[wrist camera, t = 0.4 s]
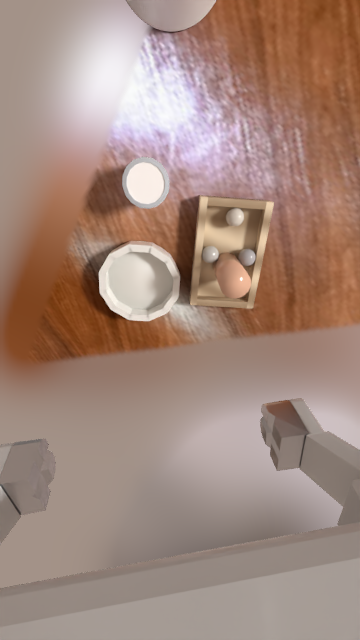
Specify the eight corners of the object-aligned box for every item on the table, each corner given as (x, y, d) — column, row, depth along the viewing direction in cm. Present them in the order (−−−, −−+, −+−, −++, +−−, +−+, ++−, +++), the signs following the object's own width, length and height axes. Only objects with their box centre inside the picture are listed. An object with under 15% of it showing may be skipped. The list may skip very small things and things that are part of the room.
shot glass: (119, 183, 50) (112, 186, 44) (145, 147, 48) (141, 145, 42) (152, 212, 52) (149, 218, 46) (178, 178, 50) (179, 181, 44)
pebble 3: (235, 265, 56) (237, 248, 55) (251, 266, 56) (253, 250, 55) (240, 265, 53) (242, 247, 52) (256, 266, 53) (259, 248, 53)
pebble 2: (225, 206, 51) (228, 208, 49) (243, 207, 52) (247, 209, 49) (223, 224, 53) (226, 227, 50) (240, 225, 53) (244, 228, 50)
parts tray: (199, 195, 51) (200, 196, 49) (269, 200, 52) (274, 202, 50) (189, 299, 60) (190, 304, 57) (249, 302, 61) (252, 308, 58)
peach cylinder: (214, 251, 55) (222, 268, 46) (240, 253, 55) (253, 270, 46) (211, 276, 57) (218, 297, 48) (236, 278, 57) (248, 299, 48)
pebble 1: (200, 263, 55) (201, 246, 55) (216, 264, 55) (217, 247, 55) (201, 261, 52) (203, 244, 52) (219, 262, 52) (220, 245, 52)
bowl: (101, 238, 54) (97, 242, 51) (181, 243, 55) (182, 248, 52) (104, 311, 61) (100, 318, 58) (176, 315, 61) (176, 322, 59)
